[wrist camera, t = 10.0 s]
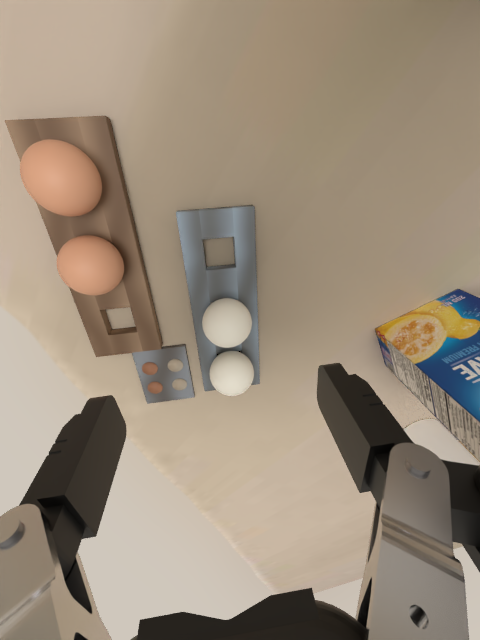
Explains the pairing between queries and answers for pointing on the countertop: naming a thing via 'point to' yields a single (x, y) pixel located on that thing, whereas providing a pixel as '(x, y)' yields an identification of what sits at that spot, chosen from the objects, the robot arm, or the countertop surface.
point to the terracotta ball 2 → (90, 265)
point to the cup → (439, 441)
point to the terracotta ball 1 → (61, 177)
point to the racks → (133, 290)
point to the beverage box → (440, 361)
